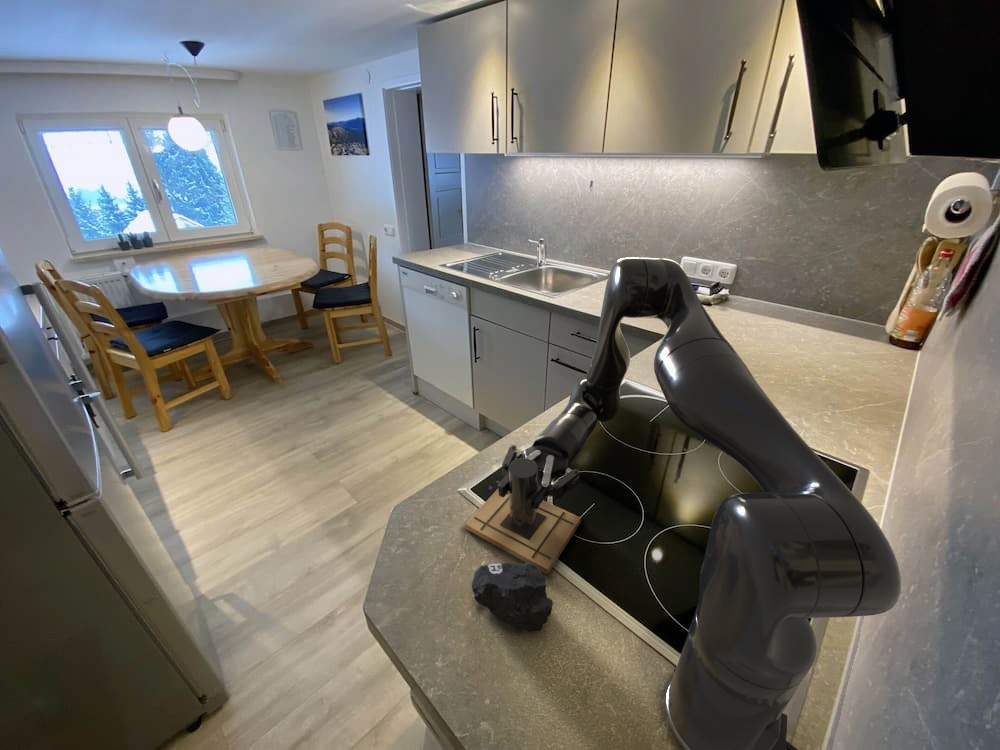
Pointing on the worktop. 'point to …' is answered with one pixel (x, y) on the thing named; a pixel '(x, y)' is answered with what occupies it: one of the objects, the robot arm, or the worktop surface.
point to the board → (525, 531)
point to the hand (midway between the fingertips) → (515, 499)
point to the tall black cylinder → (522, 491)
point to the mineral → (513, 594)
